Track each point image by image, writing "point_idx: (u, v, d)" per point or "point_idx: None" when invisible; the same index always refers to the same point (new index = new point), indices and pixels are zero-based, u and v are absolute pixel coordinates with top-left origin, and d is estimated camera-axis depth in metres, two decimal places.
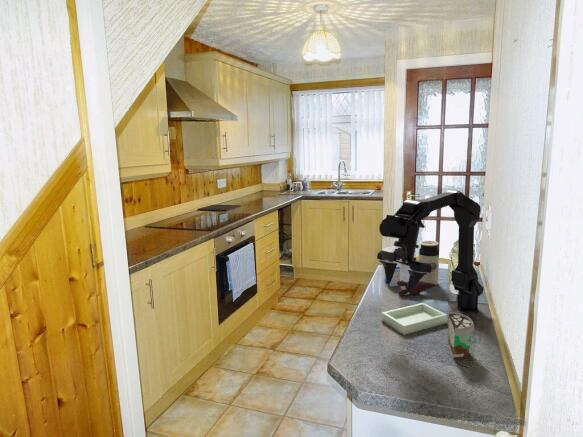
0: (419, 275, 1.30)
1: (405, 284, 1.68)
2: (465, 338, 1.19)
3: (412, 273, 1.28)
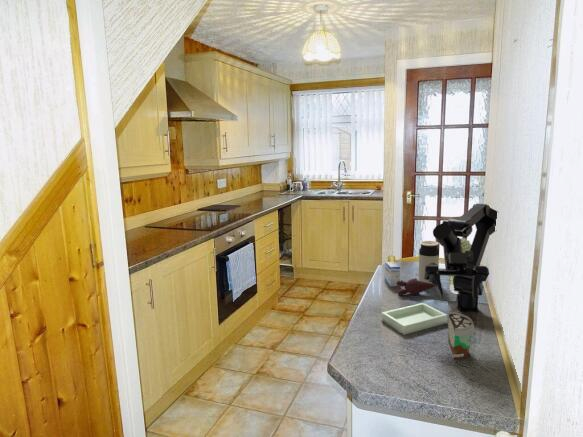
0: None
1: (405, 284, 1.68)
2: (465, 338, 1.19)
3: (480, 276, 1.29)
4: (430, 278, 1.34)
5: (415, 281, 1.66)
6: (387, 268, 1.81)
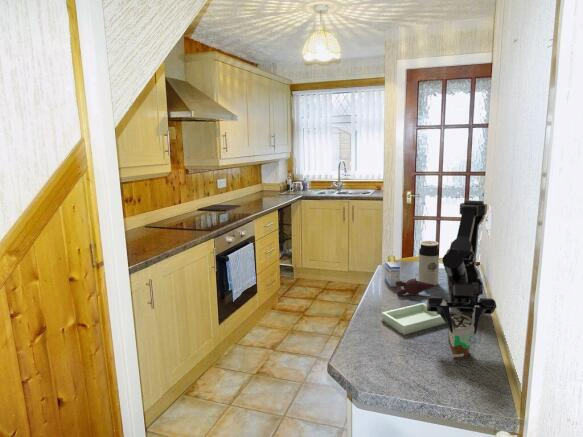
0: None
1: (404, 284, 1.68)
2: (465, 338, 1.19)
3: (481, 310, 1.22)
4: (438, 310, 1.26)
5: (414, 281, 1.66)
6: (387, 268, 1.81)
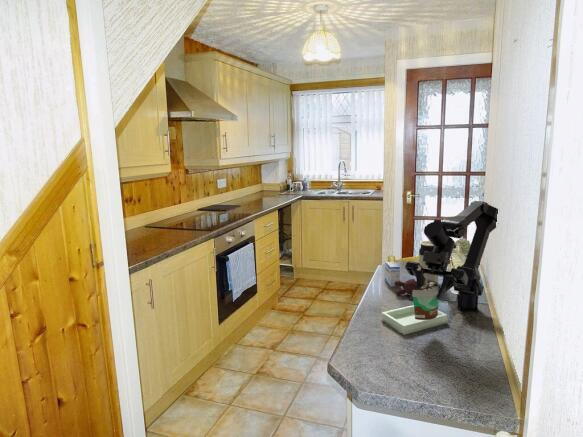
0: (449, 285, 1.31)
1: (402, 284, 1.68)
2: (424, 301, 1.29)
3: (448, 278, 1.29)
4: (415, 274, 1.38)
5: (413, 281, 1.66)
6: (387, 268, 1.81)
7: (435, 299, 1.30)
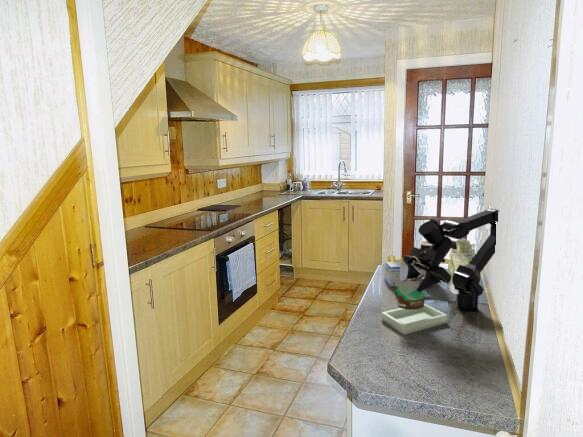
0: (433, 281, 1.39)
1: None
2: (405, 291, 1.41)
3: (429, 274, 1.37)
4: None
5: None
6: (387, 268, 1.81)
7: (416, 291, 1.40)
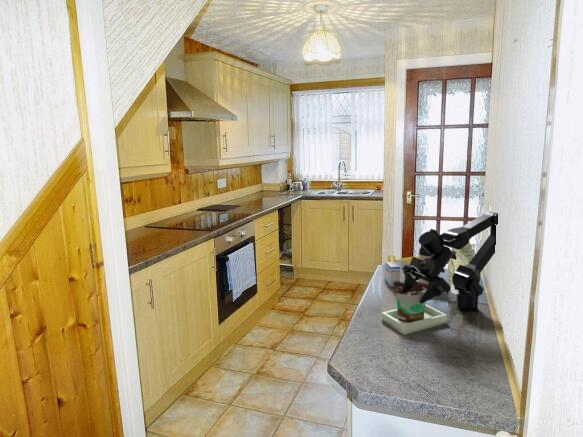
0: (436, 292, 1.38)
1: (401, 284, 1.68)
2: (405, 305, 1.41)
3: (431, 285, 1.36)
4: None
5: None
6: (387, 268, 1.81)
7: (417, 305, 1.41)
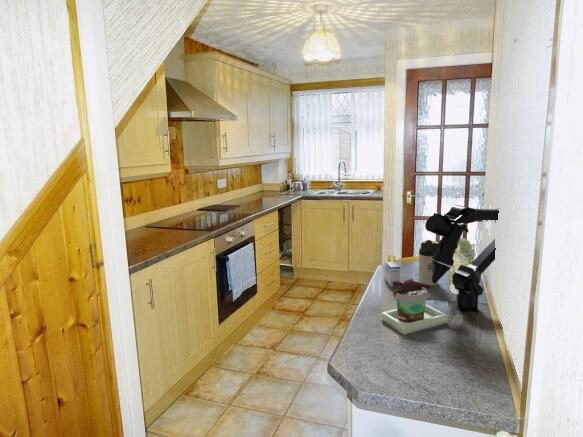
0: (444, 268, 1.40)
1: (400, 284, 1.68)
2: (405, 305, 1.41)
3: (433, 263, 1.41)
4: None
5: (411, 282, 1.66)
6: (387, 268, 1.81)
7: (417, 305, 1.41)
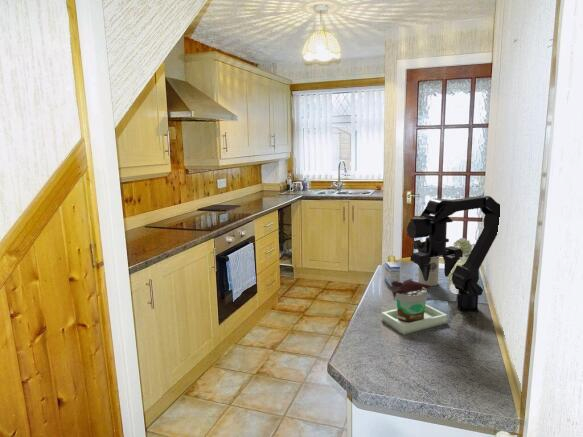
0: (425, 266, 1.44)
1: (400, 284, 1.68)
2: (405, 305, 1.41)
3: None
4: None
5: (410, 282, 1.66)
6: (387, 268, 1.81)
7: (417, 305, 1.41)
